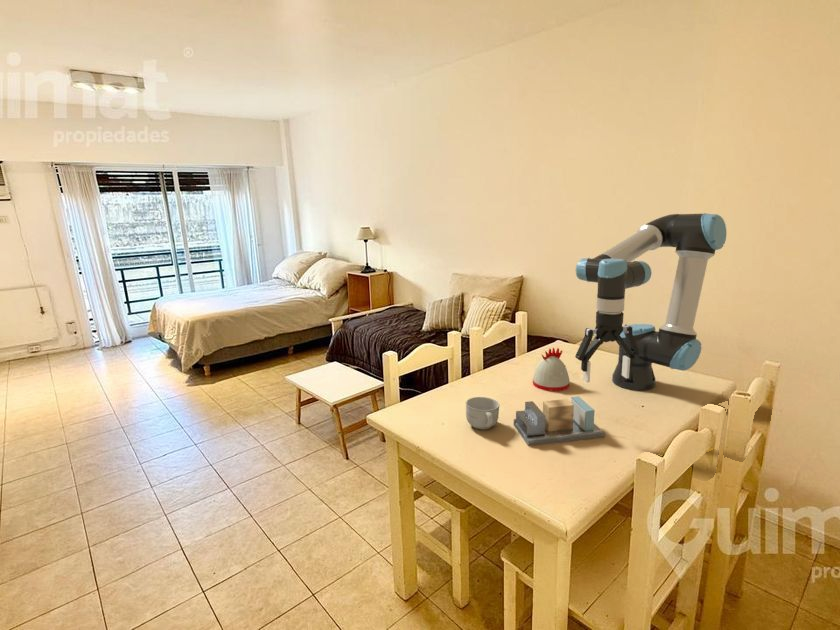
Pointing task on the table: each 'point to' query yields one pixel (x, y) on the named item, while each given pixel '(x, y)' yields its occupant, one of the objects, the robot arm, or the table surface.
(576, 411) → the block
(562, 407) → the oak block
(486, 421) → the teacup
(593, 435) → the vise bed
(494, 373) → the table surface
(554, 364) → the white and red dome
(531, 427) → the fixed jaw
